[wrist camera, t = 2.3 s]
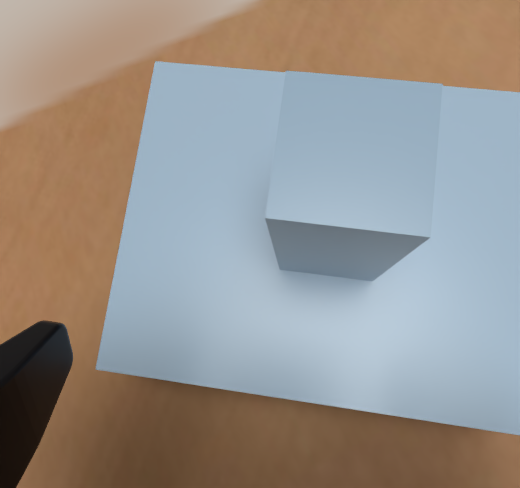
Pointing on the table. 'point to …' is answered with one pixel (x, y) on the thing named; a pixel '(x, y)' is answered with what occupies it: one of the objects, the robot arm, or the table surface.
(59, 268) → the table surface
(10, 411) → the robot arm
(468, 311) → the tub lid
